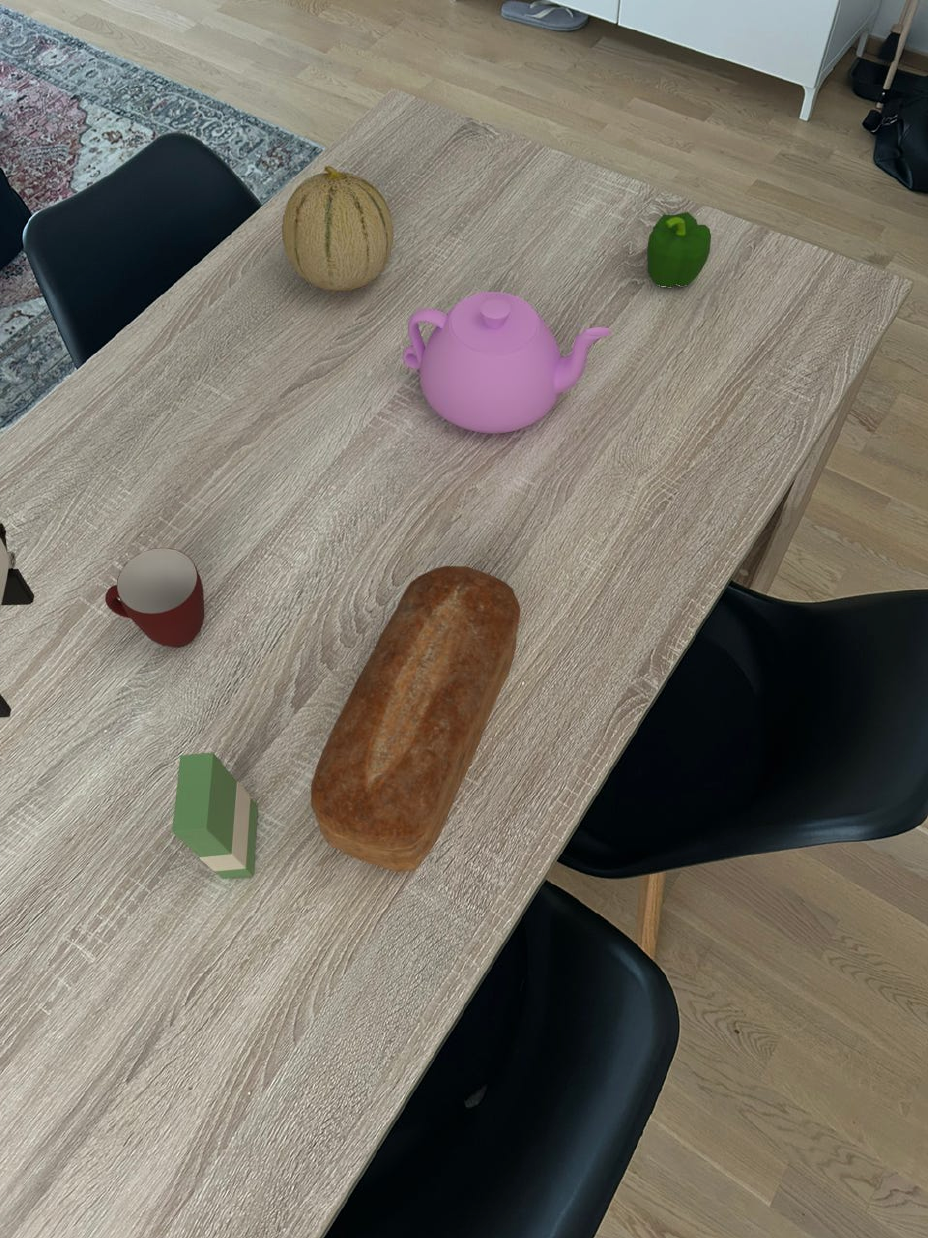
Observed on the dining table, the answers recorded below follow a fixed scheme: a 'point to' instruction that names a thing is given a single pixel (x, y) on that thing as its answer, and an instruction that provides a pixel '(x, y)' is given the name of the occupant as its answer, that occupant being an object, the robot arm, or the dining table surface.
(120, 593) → the mug
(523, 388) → the teapot
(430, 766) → the bread
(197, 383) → the dining table surface
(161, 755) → the dining table surface
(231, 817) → the block
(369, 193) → the cantaloupe
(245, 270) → the dining table surface
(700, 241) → the bell pepper
